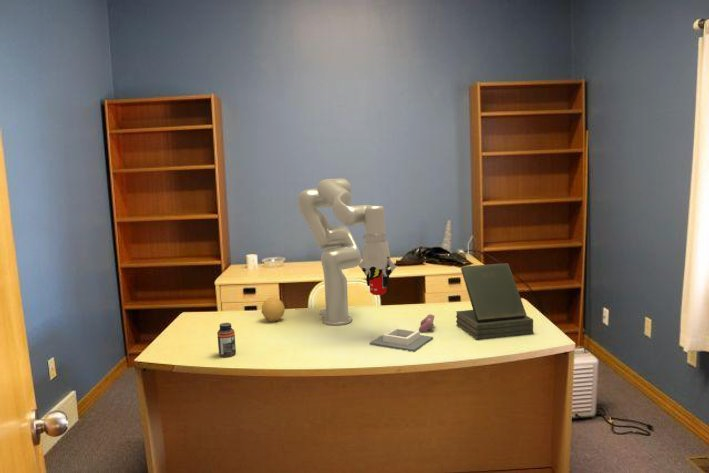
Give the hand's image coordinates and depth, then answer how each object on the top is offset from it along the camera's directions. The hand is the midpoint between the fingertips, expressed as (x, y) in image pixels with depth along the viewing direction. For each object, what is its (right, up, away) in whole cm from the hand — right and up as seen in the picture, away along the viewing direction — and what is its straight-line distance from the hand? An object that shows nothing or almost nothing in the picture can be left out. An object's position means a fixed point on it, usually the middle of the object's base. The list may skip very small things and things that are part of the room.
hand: (378, 285), depth 197 cm
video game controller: (+20, -19, +10) cm, 29 cm away
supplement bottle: (-54, -24, -11) cm, 60 cm away
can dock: (+9, -20, -4) cm, 22 cm away
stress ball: (-44, -18, +31) cm, 57 cm away
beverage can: (0, -3, 0) cm, 3 cm away
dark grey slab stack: (+45, -18, +6) cm, 49 cm away
